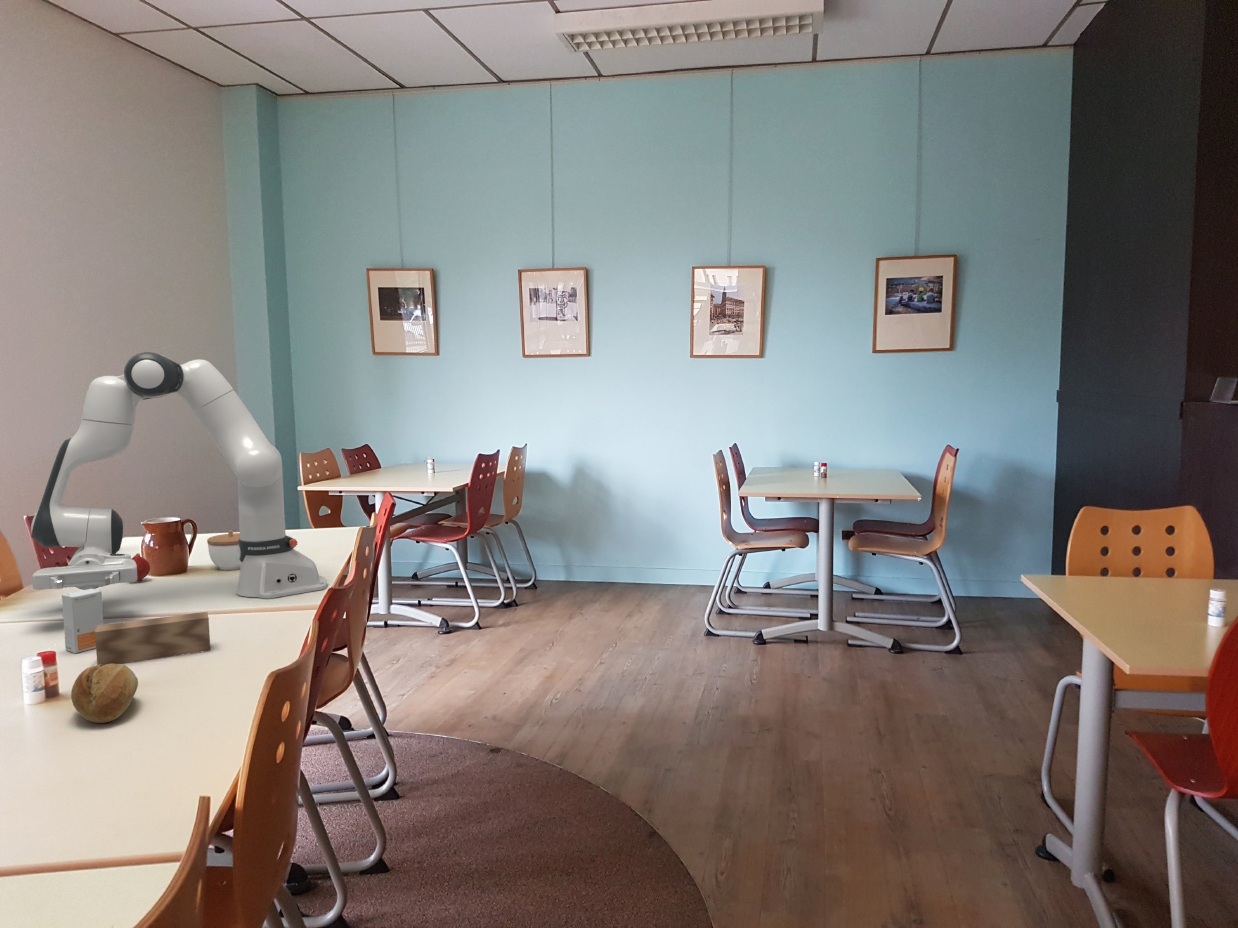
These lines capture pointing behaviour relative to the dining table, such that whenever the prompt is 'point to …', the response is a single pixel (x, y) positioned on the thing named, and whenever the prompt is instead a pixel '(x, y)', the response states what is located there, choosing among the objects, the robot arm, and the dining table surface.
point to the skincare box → (81, 619)
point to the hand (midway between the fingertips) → (83, 583)
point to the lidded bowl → (225, 550)
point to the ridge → (152, 638)
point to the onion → (141, 567)
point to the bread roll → (104, 692)
